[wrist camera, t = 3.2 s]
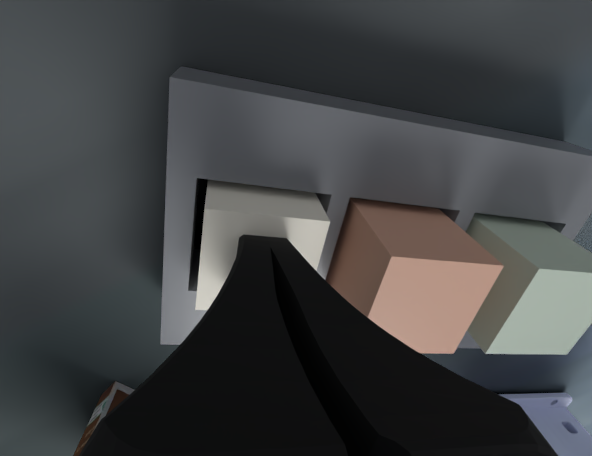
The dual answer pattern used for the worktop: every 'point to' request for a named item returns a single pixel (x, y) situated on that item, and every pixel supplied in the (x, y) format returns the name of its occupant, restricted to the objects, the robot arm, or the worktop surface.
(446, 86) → the worktop surface
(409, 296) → the key terracotta
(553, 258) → the key sage
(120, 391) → the half round cake
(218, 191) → the key cream
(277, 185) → the key console
